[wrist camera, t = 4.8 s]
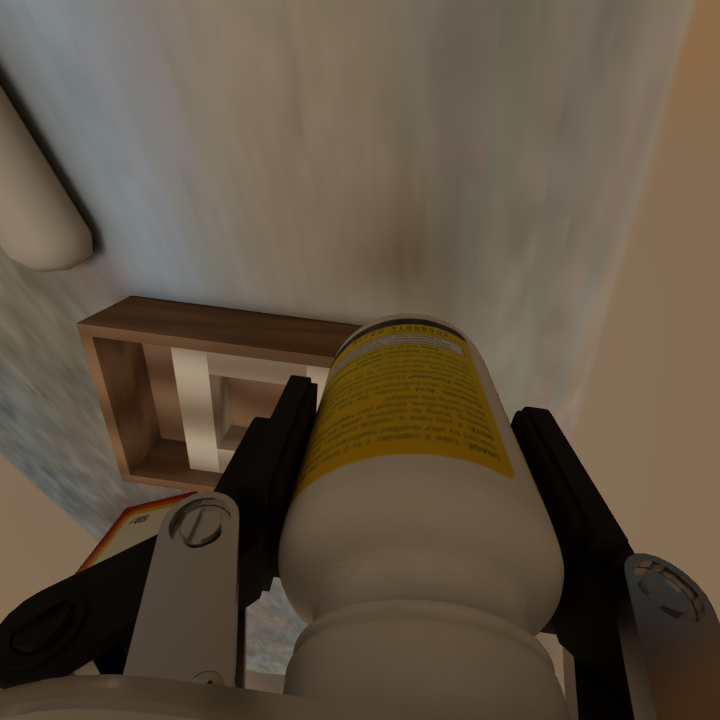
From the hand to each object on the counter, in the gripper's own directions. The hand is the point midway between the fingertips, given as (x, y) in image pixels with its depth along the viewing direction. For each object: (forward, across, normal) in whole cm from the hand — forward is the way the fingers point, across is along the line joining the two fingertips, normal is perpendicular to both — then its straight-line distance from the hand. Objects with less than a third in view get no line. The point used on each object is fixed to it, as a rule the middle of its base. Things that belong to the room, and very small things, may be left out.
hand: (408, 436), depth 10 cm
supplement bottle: (+3, 0, 0) cm, 3 cm away
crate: (+17, +9, +11) cm, 22 cm away
